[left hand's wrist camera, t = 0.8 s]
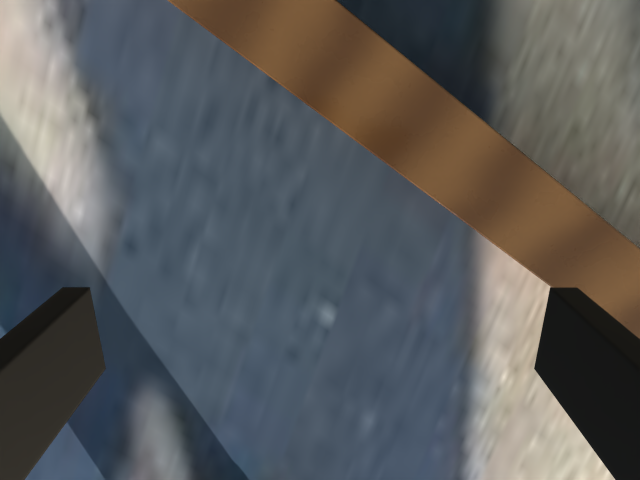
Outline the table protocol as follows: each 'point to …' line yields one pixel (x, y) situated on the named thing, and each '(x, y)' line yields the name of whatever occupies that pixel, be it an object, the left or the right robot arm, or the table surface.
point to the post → (431, 141)
